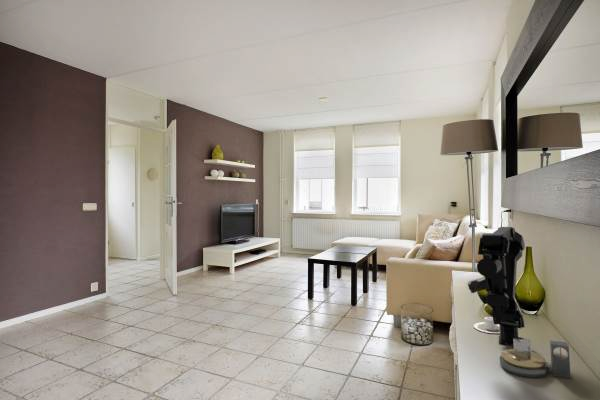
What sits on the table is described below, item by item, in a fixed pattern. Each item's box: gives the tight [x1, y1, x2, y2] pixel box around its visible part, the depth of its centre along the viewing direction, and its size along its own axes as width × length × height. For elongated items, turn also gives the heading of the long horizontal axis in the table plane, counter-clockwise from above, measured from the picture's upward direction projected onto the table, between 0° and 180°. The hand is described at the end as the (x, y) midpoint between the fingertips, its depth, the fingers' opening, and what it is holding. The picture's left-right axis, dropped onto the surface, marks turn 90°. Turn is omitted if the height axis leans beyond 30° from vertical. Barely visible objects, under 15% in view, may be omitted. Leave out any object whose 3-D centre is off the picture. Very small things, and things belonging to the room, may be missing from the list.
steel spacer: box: [513, 336, 532, 360], centre depth 105 cm, size 4×4×5 cm
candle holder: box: [473, 316, 500, 334], centre depth 137 cm, size 12×12×4 cm
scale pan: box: [501, 348, 547, 369], centre depth 104 cm, size 11×11×1 cm
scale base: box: [499, 340, 572, 379], centre depth 103 cm, size 12×17×9 cm
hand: (498, 318), depth 114 cm, fingers open, 9 cm apart
